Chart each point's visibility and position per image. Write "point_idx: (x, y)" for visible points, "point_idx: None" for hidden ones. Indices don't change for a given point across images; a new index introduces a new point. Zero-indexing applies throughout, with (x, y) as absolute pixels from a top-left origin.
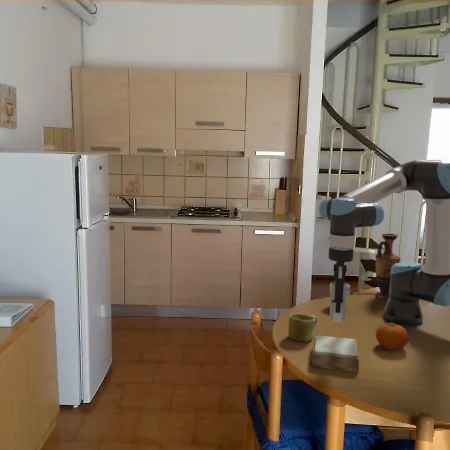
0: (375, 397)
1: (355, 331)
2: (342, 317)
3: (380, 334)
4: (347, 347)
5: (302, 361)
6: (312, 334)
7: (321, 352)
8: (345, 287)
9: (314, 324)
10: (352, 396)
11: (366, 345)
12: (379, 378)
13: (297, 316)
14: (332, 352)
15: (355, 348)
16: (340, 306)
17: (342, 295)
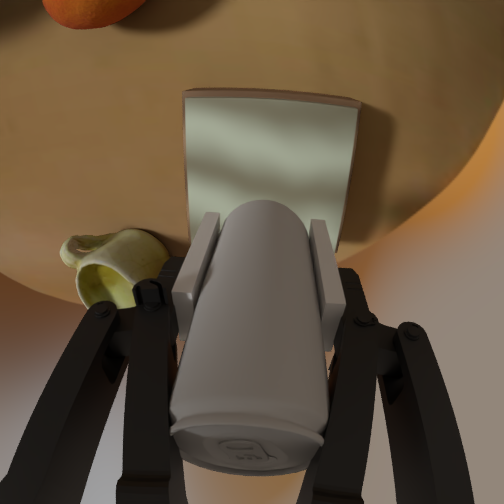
0: (477, 92)
1: (34, 104)
2: (298, 224)
3: (117, 7)
4: (281, 136)
5: None
6: (132, 236)
7: (337, 232)
8: (304, 404)
9: (85, 240)
10: (475, 149)
11: (121, 57)
12: (379, 42)
13: (92, 300)
14: (338, 197)
15: (285, 105)
16: (365, 301)
17: (440, 378)
